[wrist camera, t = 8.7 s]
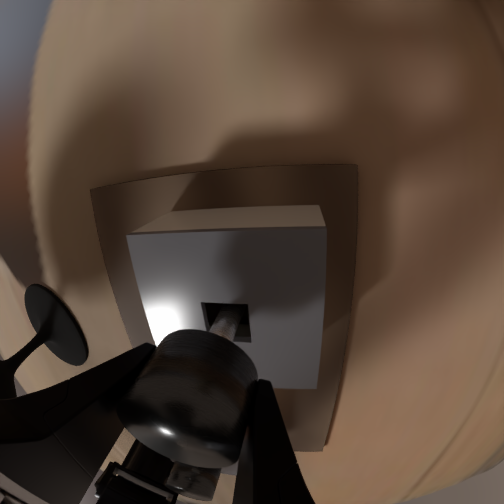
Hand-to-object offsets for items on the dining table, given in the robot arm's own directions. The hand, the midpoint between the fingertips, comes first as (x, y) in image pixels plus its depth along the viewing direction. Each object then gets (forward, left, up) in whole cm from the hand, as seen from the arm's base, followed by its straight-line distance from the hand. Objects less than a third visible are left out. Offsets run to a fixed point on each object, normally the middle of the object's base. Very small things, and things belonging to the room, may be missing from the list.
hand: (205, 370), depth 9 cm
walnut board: (-2, -7, -8) cm, 11 cm away
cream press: (0, 0, -8) cm, 8 cm away
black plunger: (0, 0, -5) cm, 5 cm away
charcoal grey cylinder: (-4, -14, -7) cm, 16 cm away
